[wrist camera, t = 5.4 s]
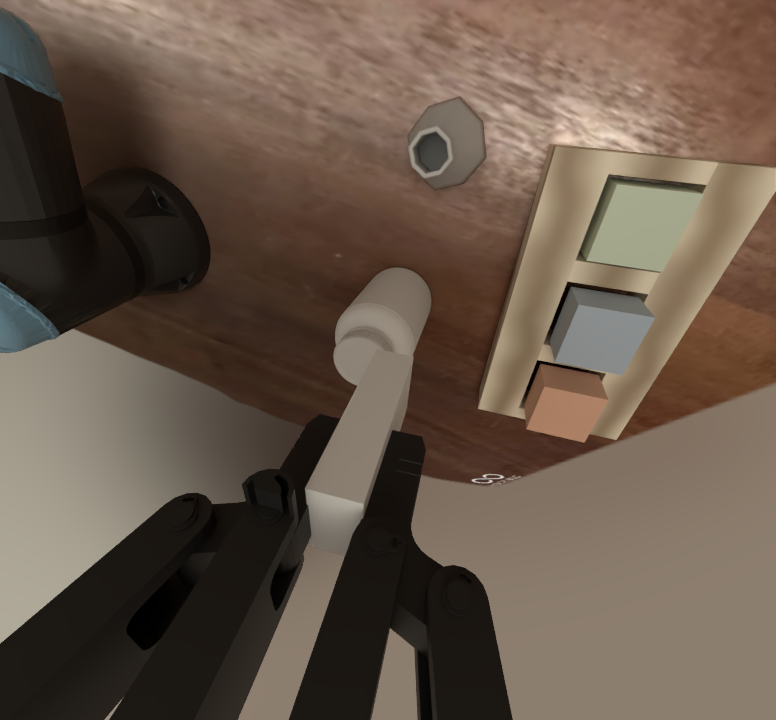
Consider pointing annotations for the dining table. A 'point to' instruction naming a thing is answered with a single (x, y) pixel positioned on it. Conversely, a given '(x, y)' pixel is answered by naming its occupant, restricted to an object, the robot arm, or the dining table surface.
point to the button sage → (638, 223)
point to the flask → (447, 144)
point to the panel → (616, 268)
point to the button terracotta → (564, 402)
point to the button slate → (599, 330)
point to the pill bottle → (381, 321)
